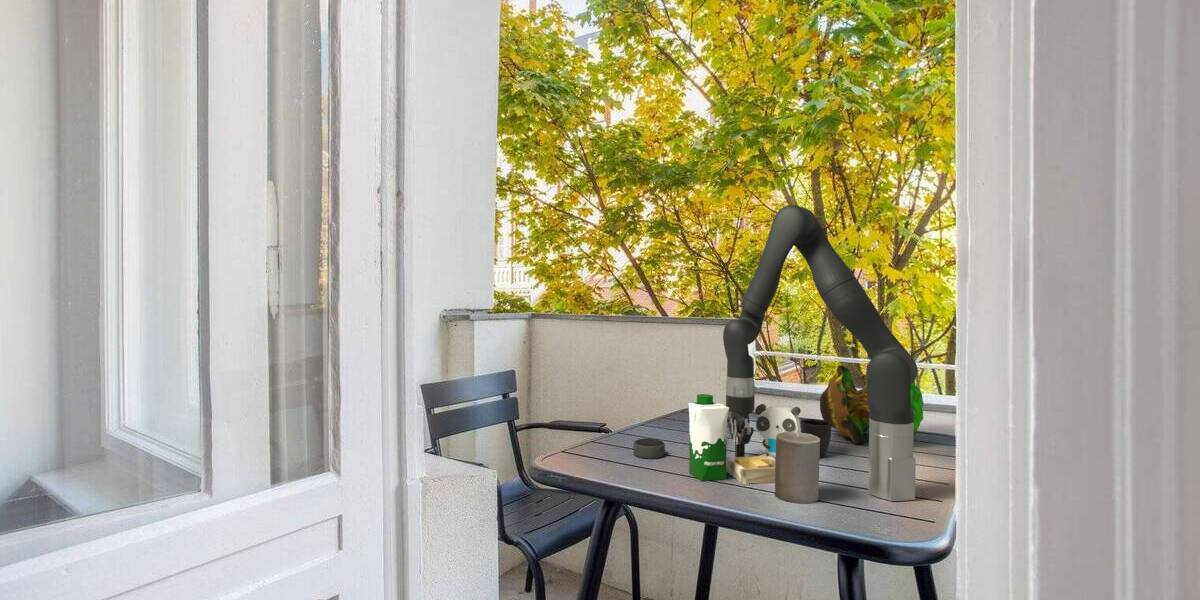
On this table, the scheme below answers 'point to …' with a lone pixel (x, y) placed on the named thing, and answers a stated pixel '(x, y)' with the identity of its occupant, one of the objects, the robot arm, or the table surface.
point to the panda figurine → (775, 424)
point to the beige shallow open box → (752, 472)
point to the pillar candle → (797, 467)
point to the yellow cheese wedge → (752, 462)
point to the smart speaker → (649, 448)
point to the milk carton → (707, 438)
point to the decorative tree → (856, 406)
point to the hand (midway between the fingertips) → (739, 457)
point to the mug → (818, 432)
